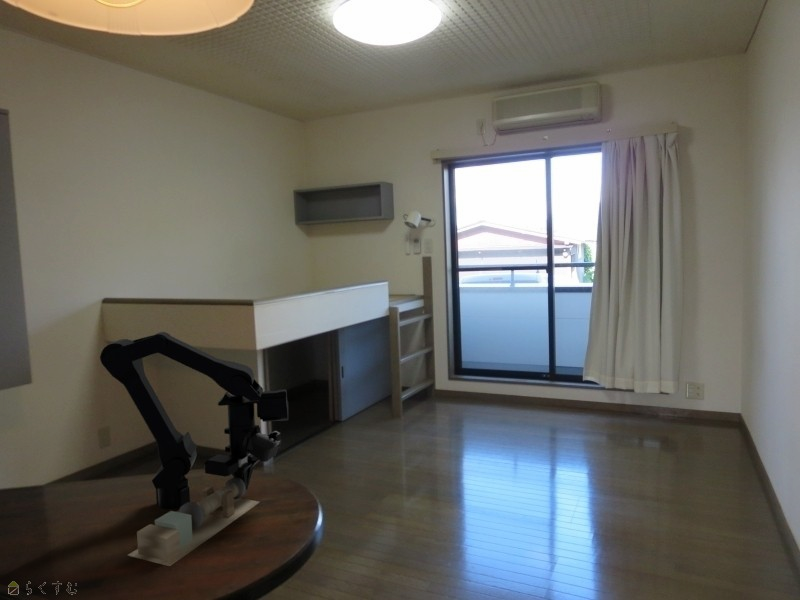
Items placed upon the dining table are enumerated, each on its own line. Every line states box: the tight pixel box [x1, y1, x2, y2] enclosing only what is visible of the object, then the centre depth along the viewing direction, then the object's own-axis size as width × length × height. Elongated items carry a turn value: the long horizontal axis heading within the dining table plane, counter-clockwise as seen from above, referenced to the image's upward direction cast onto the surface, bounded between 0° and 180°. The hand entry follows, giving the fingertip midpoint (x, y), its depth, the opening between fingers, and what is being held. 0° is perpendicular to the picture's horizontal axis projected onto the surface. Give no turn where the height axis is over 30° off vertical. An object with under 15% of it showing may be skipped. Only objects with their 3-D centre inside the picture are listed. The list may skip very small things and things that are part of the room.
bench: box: [127, 486, 261, 567], centre depth 108 cm, size 10×26×6 cm, turn 158°
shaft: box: [178, 477, 247, 530], centre depth 112 cm, size 5×15×5 cm, turn 158°
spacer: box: [154, 510, 193, 548], centre depth 102 cm, size 5×4×5 cm
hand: (244, 490), depth 121 cm, fingers closed
